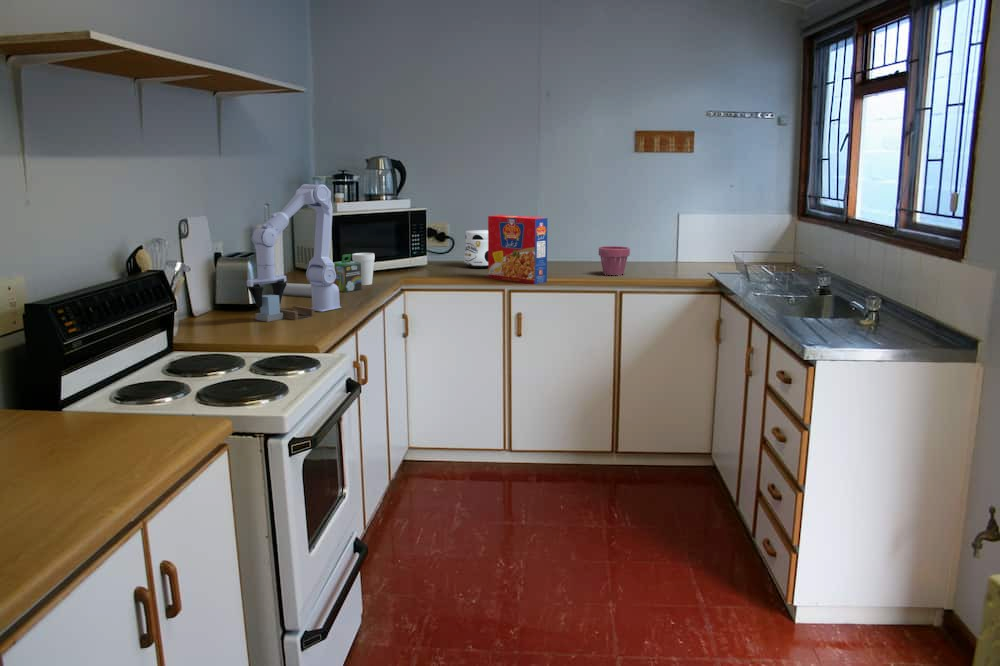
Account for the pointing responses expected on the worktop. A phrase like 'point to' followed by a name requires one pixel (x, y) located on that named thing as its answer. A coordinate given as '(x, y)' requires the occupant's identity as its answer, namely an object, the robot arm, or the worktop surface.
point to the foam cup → (365, 266)
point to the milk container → (476, 248)
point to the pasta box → (517, 248)
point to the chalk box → (348, 275)
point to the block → (270, 304)
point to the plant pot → (613, 259)
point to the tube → (298, 290)
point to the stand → (268, 317)
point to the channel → (298, 312)
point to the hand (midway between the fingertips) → (268, 305)
